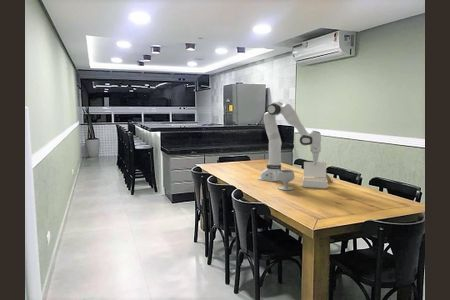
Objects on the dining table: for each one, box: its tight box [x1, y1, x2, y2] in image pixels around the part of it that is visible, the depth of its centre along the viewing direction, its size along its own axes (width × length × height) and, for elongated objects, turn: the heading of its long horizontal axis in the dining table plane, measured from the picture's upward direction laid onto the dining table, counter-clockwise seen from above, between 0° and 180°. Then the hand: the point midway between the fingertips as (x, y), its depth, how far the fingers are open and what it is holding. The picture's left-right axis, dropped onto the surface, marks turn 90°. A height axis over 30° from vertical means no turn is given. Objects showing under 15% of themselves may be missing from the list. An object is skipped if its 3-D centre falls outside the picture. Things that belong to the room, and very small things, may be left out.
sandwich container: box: [313, 173, 333, 182], centre depth 303 cm, size 9×15×15 cm, turn 110°
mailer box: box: [302, 176, 329, 190], centre depth 280 cm, size 20×14×6 cm
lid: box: [303, 161, 327, 178], centre depth 288 cm, size 19×13×1 cm
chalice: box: [277, 169, 295, 191], centre depth 269 cm, size 14×14×15 cm
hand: (315, 165), depth 288 cm, fingers closed
